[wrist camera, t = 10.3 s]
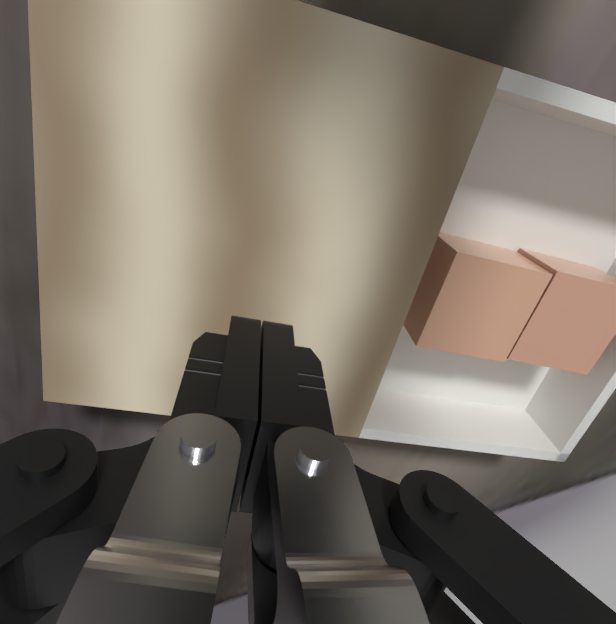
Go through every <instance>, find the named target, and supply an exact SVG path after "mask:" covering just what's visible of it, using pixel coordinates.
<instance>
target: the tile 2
mask: <svg viewBox="0 0 616 624" xmlns="http://www.w3.org/2000/svg"><path fill="white" fill-rule="evenodd" d="M517 252H518V253H520V254H521V255H523V256H524V257H526V258H528V259H529V260H531V261H532V262H534V263H535V264H537V265H539V266H540V267H542V268H543V269H545V270H546V271H548V272H550V273H551V274H553V276H552V278H551V279H550V281H549V283H548V285H547V287H546V288H545V290H544V292H543V294H542V296H541V297H540V299H539V301H538V303H537V305H536V306H535V308H534V310H533V312H532V314H531V315H530V317H529V319H528V321H527V322H526V324H525V326H524V328H523V330H522V331H521V333H520V335H519V337H518V339H517V340H516V342H515V344H514V346H513V348H512V349H511V351H510V353H509V355H508V357H507V359H508V360H514V361H519V362H524V363H529V364H534V365H539V366H545V367H550V368H555V369H560V370H565V371H570V372H576V373H581V374H586V375H588V374H589V372H590V371H591V369H592V368H593V366H594V365H595V364H596V362H597V361H598V359H599V358H600V356H601V355H602V353H603V352H604V350H605V349H606V347H607V346H608V344H609V343H610V341H611V340H612V338H613V337H614V336H615V334H616V278H615V277H613V276H611V275H609V274H607V273H605V272H604V271H602V270H600V269H598V268H596V267H592V266H588V265H585V264H581V263H577V262H573V261H569V260H565V259H561V258H557V257H554V256H550V255H546V254H542V253H538V252H534V251H530V250H526V249H523V248H519V249H518V251H517Z"/></svg>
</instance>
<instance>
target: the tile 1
mask: <svg viewBox="0 0 616 624" xmlns="http://www.w3.org/2000/svg"><path fill="white" fill-rule="evenodd" d="M552 276H553V274H551V273H550V272H548V271H546V270H545V269H543V268H542V267H540V266H539V265H537V264H535V263H534V262H532V261H531V260H529V259H528V258H526V257H524V256H523V255H521V254H520V253H518V252H517V251H515V250H510V249H506V248H502V247H498V246H494V245H490V244H486V243H482V242H478V241H474V240H470V239H466V238H462V237H458V236H454V235H450V234H446V233H442V232H439V235H438V237H437V240H436V242H435V245H434V248H433V250H432V253H431V255H430V258H429V260H428V263H427V265H426V268H425V271H424V273H423V276H422V278H421V281H420V283H419V286H418V288H417V291H416V293H415V296H414V299H413V301H412V304H411V306H410V309H409V311H408V314H407V316H406V319H405V321H404V324H403V325H404V327H405V328H406V330H407V332H408V333H409V335H410V337H411V338H412V340H413V342H414V343H415V345H416V346H418V347H424V348H429V349H435V350H440V351H445V352H451V353H456V354H462V355H467V356H473V357H478V358H483V359H489V360H494V361H500V362H505V360H506V358H507V357H508V355H509V353H510V351H511V349H512V348H513V346H514V344H515V342H516V340H517V339H518V337H519V335H520V333H521V331H522V330H523V328H524V326H525V324H526V322H527V321H528V319H529V317H530V315H531V314H532V312H533V310H534V308H535V306H536V305H537V303H538V301H539V299H540V297H541V296H542V294H543V292H544V290H545V288H546V287H547V285H548V283H549V281H550V279H551V278H552Z"/></svg>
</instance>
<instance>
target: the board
mask: <svg viewBox="0 0 616 624" xmlns="http://www.w3.org/2000/svg"><path fill="white" fill-rule="evenodd" d="M28 19H29V44H30V70H31V95H32V120H33V146H34V171H35V197H36V222H37V248H38V273H39V298H40V324H41V349H42V375H43V400H44V401H50V402H59V403H67V404H76V405H84V406H93V407H101V408H110V409H118V410H127V411H135V412H144V413H152V414H161V415H169V416H171V414H172V410H173V407H174V404H175V400H176V397H177V394H178V390H179V387H180V384H181V380H182V377H183V374H184V371H185V367H186V364H187V360H188V358H189V354H190V351H191V347H192V344H193V342H194V341H195V340H196V339H198V338H199V337H200V336H201V335H202V334H204V333H205V332H210V333H216V334H223V335H228V333H229V327H230V321H231V315H233V316H239V317H245V318H251V319H257V320H261V326H262V322H263V320H264V321H270V322H276V323H282V324H288V325H293V332H294V342H295V346H300V347H306V348H311V349H312V351H313V352H314V353H315V354H316V356H317V357H318V358H319V360H320V361H321V364H322V369H323V375H324V377H323V379H324V380H325V385H326V391H327V396H328V401H329V407H330V412H331V417H332V423H333V428H334V434H335V435H339V436H347V437H356V438H359V436H360V434H361V431H362V428H363V426H364V423H365V421H366V418H367V416H368V413H369V411H370V408H371V406H372V403H373V400H374V398H375V395H376V393H377V390H378V388H379V385H380V383H381V380H382V377H383V375H384V372H385V370H386V367H387V365H388V362H389V360H390V357H391V355H392V352H393V349H394V347H395V344H396V342H397V339H398V337H399V334H400V332H401V329H402V327H403V324H404V321H405V319H406V316H407V314H408V311H409V309H410V306H411V304H412V301H413V299H414V296H415V293H416V291H417V288H418V286H419V283H420V281H421V278H422V276H423V273H424V271H425V268H426V265H427V263H428V260H429V258H430V255H431V253H432V250H433V248H434V245H435V242H436V240H437V237H438V235H439V232H440V230H441V227H442V225H443V222H444V220H445V217H446V214H447V212H448V209H449V207H450V204H451V202H452V199H453V197H454V194H455V192H456V189H457V186H458V184H459V181H460V179H461V176H462V174H463V171H464V169H465V166H466V164H467V161H468V158H469V156H470V153H471V151H472V148H473V146H474V143H475V141H476V138H477V136H478V133H479V130H480V128H481V125H482V123H483V120H484V118H485V115H486V113H487V110H488V107H489V105H490V102H491V100H492V97H493V95H494V92H495V90H496V87H497V85H498V82H499V79H500V77H501V74H502V72H503V69H504V67H503V66H500V65H497V64H494V63H491V62H487V61H484V60H481V59H478V58H475V57H472V56H469V55H466V54H463V53H459V52H456V51H453V50H450V49H447V48H444V47H441V46H438V45H435V44H432V43H428V42H425V41H422V40H419V39H416V38H413V37H410V36H407V35H404V34H400V33H397V32H394V31H391V30H388V29H385V28H382V27H379V26H376V25H373V24H369V23H366V22H363V21H360V20H357V19H354V18H351V17H348V16H345V15H341V14H338V13H335V12H332V11H329V10H326V9H323V8H320V7H317V6H314V5H310V4H307V3H304V2H301V1H298V0H28Z"/></svg>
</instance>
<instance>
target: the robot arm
mask: <svg viewBox="0 0 616 624" xmlns="http://www.w3.org/2000/svg"><path fill="white" fill-rule="evenodd" d="M323 377H324V375H323V369H322V364H321V361H320V360H319V358H318V357H317V356H316V354H315V353H314V352H313V351H312V349H311V348H306V347H300V346H295V342H294V332H293V325H288V324H282V323H276V322H270V321H264V320H263V322H262V326H261V320H257V319H251V318H245V317H239V316H233V315H231V321H230V327H229V333H228V335H223V334H216V333H210V332H205V333H204V334H202V335H201V336H200V337H199V338H198V339H196V340H195V341H194V342H193V344H192V347H191V351H190V354H189V358H188V360H187V364H186V367H185V371H184V374H183V377H182V380H181V384H180V387H179V390H178V394H177V397H176V400H175V404H174V407H173V410H172V414H171V417H170V419H169V421H168V422H166V423H165V424H164V425H163V426H162V427H161V428H160V429H159V430H158V432H157V433H156V435H155V437H153V438H151V439H150V440H148V441H145V442H143V443H141V444H138V445H135V446H131V447H126V448H120V449H113V450H106V451H99V452H96V448H95V447H94V445H93V443H92V442H91V441H90V440H89V439H88V438H87V437H85V436H84V435H82V434H80V433H78V432H74V431H71V430H65V429H43V430H38V431H33V432H29V433H26V434H23V435H21V436H18V437H16V438H13V439H11V440H9V441H7V442H5V443H2V444H0V624H210V623H211V618H212V612H213V607H214V601H215V595H216V590H217V584H218V578H219V572H220V565H221V563H220V560H221V554H222V549H223V543H224V539H225V535H226V531H227V527H228V522H229V518H230V513H231V511H234V512H236V511H237V506H238V502H239V498H240V493H241V501H240V512H248V513H253V516H252V532H251V536H250V540H249V544H248V548H247V584H248V618H249V619H248V621H249V624H475V623H474V622H473V621H472V620H471V619H470V618H469V617H468V616H467V615H466V614H465V613H464V612H463V611H462V610H461V609H460V608H459V607H458V606H457V605H456V604H455V603H454V601H453V600H452V599H451V598H450V597H448V596H447V594H445V592H444V590H445V588H446V587H447V588H448V589H449V590H450V591H451V592H452V593H453V594H454V595H455V596H456V597H457V598H458V599H459V600H460V601H461V602H462V603H463V604H464V605H465V606H466V607H467V608H468V609H469V610H470V611H471V612H472V613H473V614H474V615H475V616H476V617H477V618H478V619H479V620H480V621H481V622H482V623H483V624H616V613H615V612H614V611H613V610H611V609H610V608H609V607H608V606H607V605H605V604H604V603H603V602H602V601H601V600H599V599H598V598H597V597H596V596H594V595H593V594H592V593H591V592H590V591H588V590H587V589H586V588H585V587H583V586H582V585H581V584H580V583H578V582H577V581H576V580H575V579H574V578H572V577H571V576H570V575H569V574H567V573H566V572H565V571H564V570H562V569H561V568H560V567H559V566H558V565H557V564H555V563H554V562H553V561H552V560H550V559H549V558H548V557H547V556H546V555H544V554H543V553H542V552H541V551H539V550H538V549H537V548H536V547H534V546H533V545H532V544H531V543H530V542H528V541H527V540H526V539H525V538H523V537H522V536H521V535H520V534H519V533H517V532H516V531H515V530H514V529H512V528H511V527H510V526H509V525H508V524H506V523H505V522H504V521H503V520H501V519H500V518H499V517H498V516H497V515H495V514H494V513H493V512H492V511H490V510H489V509H488V508H487V507H486V506H484V505H483V504H482V503H481V502H479V501H478V500H477V499H476V498H475V497H473V496H472V495H471V494H470V493H468V492H467V491H466V490H465V489H464V488H462V487H461V486H460V485H458V484H457V483H456V482H454V481H453V480H451V479H449V478H448V477H446V476H444V475H441V474H439V473H436V472H432V471H426V470H418V471H413V472H410V473H409V474H407V475H406V476H405V477H404V478H403V479H402V481H401V483H400V485H399V484H397V483H394V482H391V481H389V480H386V479H384V478H381V477H378V476H376V475H373V474H371V473H369V472H366V471H364V470H363V469H361V468H359V467H358V466H356V465H355V464H354V463H353V459H352V456H351V454H350V452H349V450H348V449H347V447H346V446H345V445H344V444H343V442H342V441H340V440H339V439H338V438H337V437H335V434H334V428H333V423H332V417H331V412H330V407H329V401H328V396H327V391H326V385H325V380H324V379H323Z"/></svg>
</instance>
